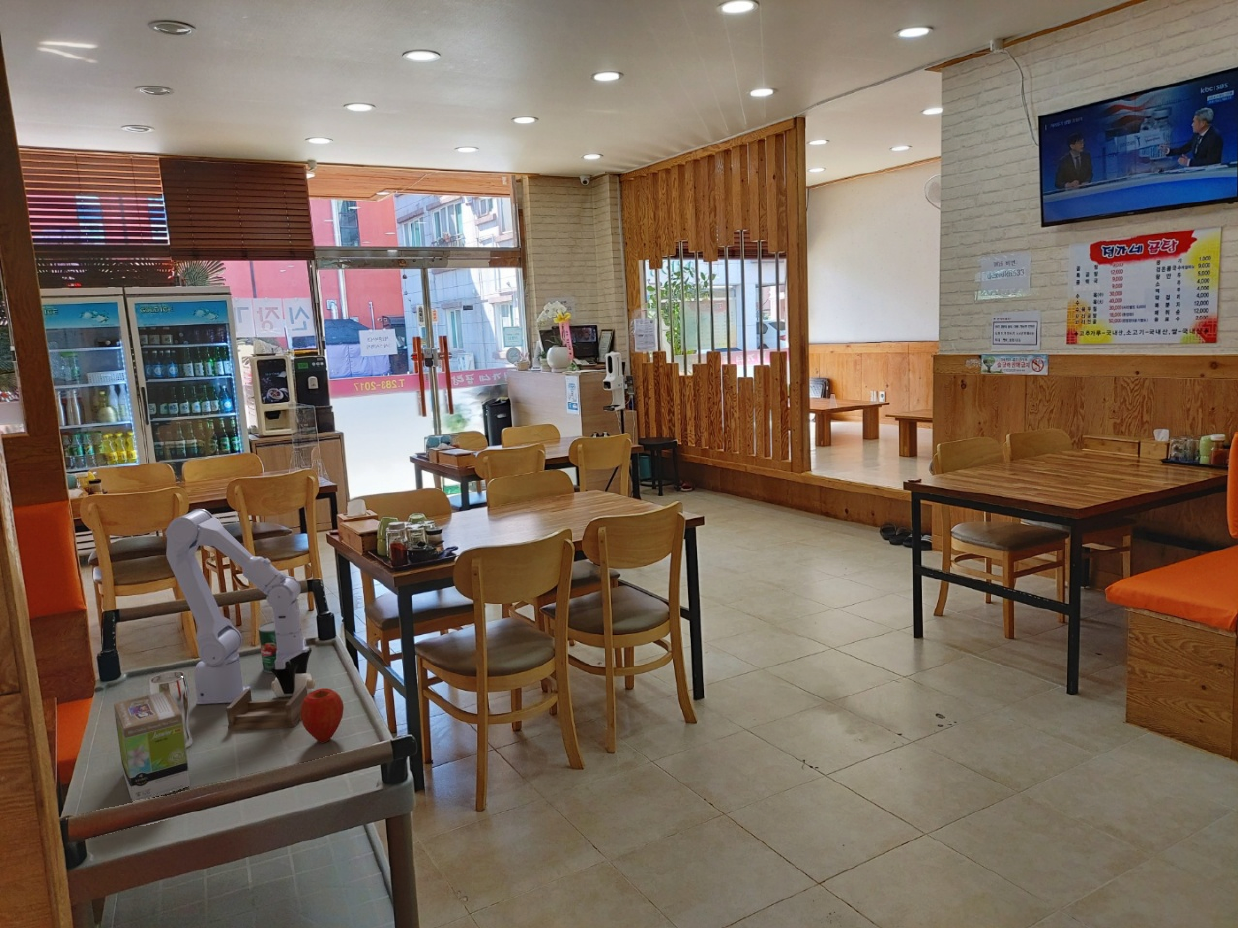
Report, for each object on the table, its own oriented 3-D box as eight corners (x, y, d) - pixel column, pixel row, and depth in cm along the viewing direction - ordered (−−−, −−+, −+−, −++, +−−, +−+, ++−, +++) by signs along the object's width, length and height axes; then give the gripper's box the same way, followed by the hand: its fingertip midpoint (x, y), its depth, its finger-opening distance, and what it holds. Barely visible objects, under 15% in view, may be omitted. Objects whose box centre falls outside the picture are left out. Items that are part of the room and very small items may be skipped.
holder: (228, 730, 187) (225, 708, 186) (247, 709, 197) (244, 688, 196) (293, 726, 187) (291, 704, 186) (309, 706, 197) (307, 685, 196)
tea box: (192, 787, 164) (182, 712, 162) (132, 806, 158) (120, 729, 156) (178, 757, 176) (169, 687, 174) (122, 773, 171) (111, 702, 168)
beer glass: (203, 739, 183) (193, 671, 181) (176, 755, 177) (166, 685, 174) (177, 736, 186) (167, 668, 183) (150, 751, 179) (139, 682, 177)
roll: (272, 701, 203) (266, 685, 200) (278, 686, 207) (273, 670, 204) (312, 699, 203) (308, 683, 200) (318, 684, 207) (314, 668, 204)
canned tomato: (256, 672, 219) (251, 630, 217) (275, 660, 226) (270, 619, 225) (284, 673, 217) (279, 631, 215) (302, 661, 224) (298, 620, 223)
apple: (350, 743, 178) (345, 692, 177) (307, 754, 174) (301, 703, 173) (342, 727, 186) (337, 678, 184) (300, 737, 182) (294, 688, 180)
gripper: (294, 641, 195) (301, 698, 197) (316, 619, 210) (322, 673, 212) (262, 642, 195) (269, 700, 197) (286, 620, 210) (292, 674, 212)
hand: (294, 686), depth 205 cm, fingers open, 7 cm apart
